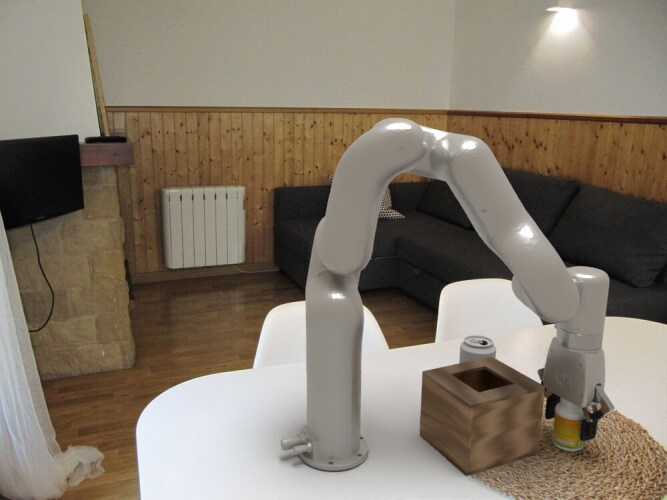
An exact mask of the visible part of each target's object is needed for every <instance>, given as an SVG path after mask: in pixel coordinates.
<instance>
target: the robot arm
mask: <svg viewBox="0 0 667 500" xmlns="http://www.w3.org/2000/svg"><path fill="white" fill-rule="evenodd" d="M403 173H409V174H412V175H418V176H421V177H425V178H430V179H434V180H439V181H442V182H443V181H444V182H446V184H447V185H448V186H449V188H450V190H451V192H452V193H453V194H454V197H455V198H456V199H457V201H458V202H459V205H460V206H461V207H462V209H463V211H464V213H465V214H466V216H467V218H468V219H469V221H470V223H471V224H472V227H473V228H474V229H475V231H476V233H477V234H478V236H479V238H481V240H482V241H483V243H484V244H485V245H486V246H487V247H488V248H489V249H490V250H491V251H492V252H493V253H494V254H495V255H496V256H497V257H498V258H499V259H500V260H501V261H502V262H503V263H504V264H505V266H506V267H507V268H508V269H509V271H510V272H511V273H512V274H513V276H512V279H511V289H512V293H513V294H514V296H515V297H516V298H517V299H518V301H520V303H522V304H523V305H524V306H526V308H528V309H529V310H530V311H531V312H533V314H535V315H536V316H537V317H538V318H539V319H541V320H543V321H545V322H547V323H552V324H553V325H554V329H556V336H554V337H553V338H552V340H551V342H550V344H549V348H548V349H547V354H546V359H545V364H544V367H542V368H539V369H537V374H538V377H539V380H540V384H542V385H544V386H545V392H544V399H545V398H546V403H545V413H544V418H545V419H546V420H551V419H552V420H553V419H554V416H555V408H556V405H557V404H558V403H560V397H561V398H563V399H565V400H566V401H568V402H570V403H572V404H574V405H576V406H578V407H580V408H582V410H583V414H584V417H585V419H583V420H582V423H581V431H580V440H581V441H583V442H584V443H585V442H586V441H590V440H593V439H596V436H597V432H598V431H597V430H598V421H599V420H602V419H603V418H605V417H607V416H608V415H609V414H611V413H612V412H613V411H614V410H615V408H616V407H615V405H614V404H613V402H612V401H611V399H610V398H609V397H608V395H607V394H606V392H605V385H606V359H605V351H604V349H602V347H603V339H604V330H605V324H606V323H605V322H606V315H607V305H608V298H609V289H610V276H609V275H608V273H607V272H606V271H604V270H602V269H599V268H595V267H590V266H582V265H578V266H576V265H575V266H571V267H567V266H566V265H565V263H564V261H563V260H562V257H560V255H559V253H558V252H557V250H556V249H555V247H554V246H553V245H552V243H550V240H549V239H548V238H547V237H546V236H545V235H544V233H543V232H542V230H541V229H540V228H539V225H537V223H536V222H535V220H534V219H533V217H532V216H531V215H530V214H529V212H528V211H527V210H526V208H525V207H524V205H523V203H522V202H521V200H520V198H519V197H518V195H517V193H516V192H515V190H514V188H513V186H512V184H511V183H510V181H509V179H508V177H507V176H506V174H505V173H504V170H503V168H502V167H501V165H500V164H499V162H498V160H497V158H496V156H495V155H494V153H493V151H492V149H491V148H490V147H489V145H488V144H487V143H485V141H483V140H482V139H480V138H479V137H476V136H473V135H467V134H461V133H454V132H449V131H444V130H439V129H436V128H432V127H428V126H424V125H420V124H418V123H416V122H415V121H413V120H411V119H410V118H409V119H408V118H404V117H403V118H402V117H389V118H384V119H381V120H380V121H378V122H377V123H375V124H374V125H373V126H372V128H371V129H369V130H368V131H366V132H365V133H363V134H361V135H360V136H359V137H357V139H355V141H353V142H352V143H351V145H349V146H348V148H347V149H346V150H345V151H344V153H343V154H342V156H341V158H340V160H339V161H338V163H337V165H336V169H335V171H334V174H333V179H332V183H331V187H330V193H329V196H328V199H327V200H328V201H327V204H326V205H327V206H326V210H325V216H324V217H322V218H321V220H320V222H318V225H317V227H316V229H315V234H314V237H313V244H312V249H311V255H310V259H309V260H310V261H309V265H308V270H307V271H308V272H307V276H306V277H307V278H306V282H305V283H306V284H305V294H304V295H305V341H306V342H305V348H306V349H305V354H306V355H305V360H306V361H305V362H306V365H305V367H306V368H305V370H306V371H305V373H306V425H304V426H301V432H299V433H296V436H293V437H287V438H281V439H280V448H281V450H282V451H288V450H292V454H293V455H294V456H296V455H299V457H300V458H301V460H302V461H303V462H304V463H306V464H307V465H309V466H310V467H312V468H314V469H318V470H323V471H331V472H336V471H346V470H349V469H352V468H355V467H357V466H359V465H360V464H362V463H364V461H365V460H366V459H367V458H368V456H369V451H370V447H369V446H370V445H369V441H368V440H367V439H366V437H364V435H362V434H361V411H362V409H361V408H362V405H361V404H362V355H363V354H362V352H363V350H362V349H363V348H362V347H363V338H364V327H365V311H364V305H363V302H362V301H363V300H362V298H361V294H360V292H359V289H358V287H359V281H360V276H361V271H363V270H364V269H365V268H366V267H367V265H368V264H369V262H370V260H371V259H372V254H373V251H374V243H375V242H374V241H375V235H376V231H377V225H378V219H379V214H380V213H379V212H380V210H381V206H382V204H383V203H382V202H383V199H384V198H383V197H384V195H385V192H386V190H387V187H388V186H389V184H390V183H391V182H392V181H393V180H394V179H395V178H396V177H398V176H399V175H401V174H403ZM599 404H600V406H599ZM590 407H591V409H590ZM591 411H592V412H591Z"/></svg>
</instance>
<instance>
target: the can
mask: <svg viewBox="0 0 667 500" xmlns="http://www.w3.org/2000/svg"><path fill="white" fill-rule="evenodd" d="M494 343H495V342H494V340H493V339H492V338H491V337H488V336H485V335H479V334H472V335H470V334H469V335H466V336H465V337H464V338H463V342H461V343H460V346H459V360H458V361H459V363H463V362H468V361H472V360H477V359H482V358H486V357H491V356H492V357H494V358H495V359H497V358H496V356H497V347H496V345H494ZM459 363H458V364H459Z"/></svg>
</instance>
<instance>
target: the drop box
mask: <svg viewBox="0 0 667 500" xmlns="http://www.w3.org/2000/svg"><path fill="white" fill-rule="evenodd" d="M421 375H422V376H421V396H420V397H421V398H420V418H419V419H420V421H419V436H420V437H421V438H422V439H423V440H425V441H426V443H428V444H429V445H430V446H431V447H433V448H434V449H435V451H437V452H438V453H439V454H441V455H442V456H443V458H445V459H446V460H448V462H450V463H451V464H452V465H453V466H454V467H455V468H456V469H457V470H459V471H460V472H461V473H462V474H463V475H464V476H466V477H467V476H470V475H473V474H477V473H480V472H482V471H486V470H489V469H493V468H497V467H500V466H501V465H505V464H508V463H511V462H515V461H517V460H520V459H525V458H528V457H531V456H533V455H537V454H539V453H540V443H541V432H542V423H543V413H544V411H543V410H544V402H545V401H544V400H545V396H544V392H545V386H544V385H542V384H541V382H538V381H536V379H535V380H534V379H532V378H531V377H529V376H527V375H526V374H524V373H522V372H520V371H519V370H517V369H515V368H513V367H512V366H510V365H507V364H505V363H504V362H502V361H501V360H499V359H498V358H496V359H495V358H494V357H492V356H491V357H486V358H482V359H477V360H472V361H468V362H463V363H455V364H450V365H445V366H440V367H435V368H432V369H426V370H423V371H422V373H421Z"/></svg>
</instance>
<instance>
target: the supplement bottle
mask: <svg viewBox="0 0 667 500" xmlns="http://www.w3.org/2000/svg"><path fill="white" fill-rule="evenodd" d="M583 419H585V417H584V414H583V410H582V408H580V407H578V406H576V405H574V404H572V403H570V402H568V401H566V400H565V399H563V398H561V397H560V403H558V404H557V405H556V408H555V416H554V418H553V427H552V436H551V437H552V439H551V441H552V443H553V445H555V447H557V448H558V449H560V450H562V449H563V451H566V452H578V451H577V450H579V451H581V450H582V449H583V448H584V443H585V441H584V442H583V441H581V440H580V431H581V423H582V420H583ZM580 449H581V450H580Z"/></svg>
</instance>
